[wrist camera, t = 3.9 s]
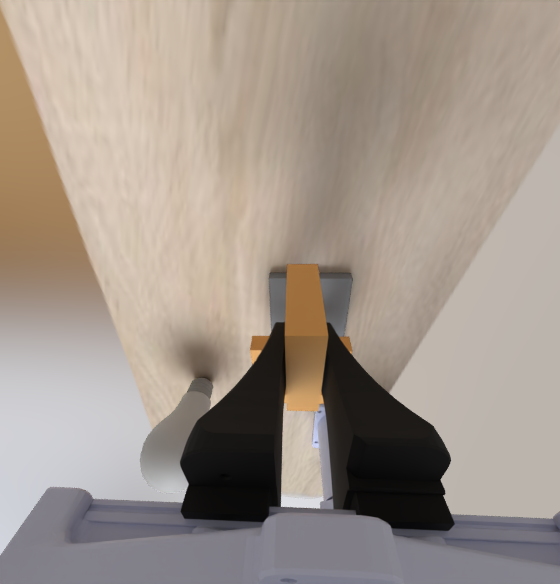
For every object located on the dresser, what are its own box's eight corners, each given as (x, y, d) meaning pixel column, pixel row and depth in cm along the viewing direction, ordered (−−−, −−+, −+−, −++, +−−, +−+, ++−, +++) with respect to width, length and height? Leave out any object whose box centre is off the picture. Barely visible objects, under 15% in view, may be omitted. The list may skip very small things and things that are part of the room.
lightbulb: (172, 361, 28) (112, 471, 19) (225, 361, 28) (190, 473, 18) (186, 396, 31) (140, 505, 22) (233, 396, 31) (208, 507, 22)
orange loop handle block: (338, 389, 20) (348, 459, 16) (260, 388, 21) (252, 456, 17) (364, 263, 13) (395, 336, 9) (242, 264, 13) (220, 335, 9)
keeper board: (334, 386, 29) (342, 434, 25) (274, 385, 30) (271, 431, 25) (350, 273, 21) (366, 310, 17) (269, 272, 22) (263, 309, 17)
